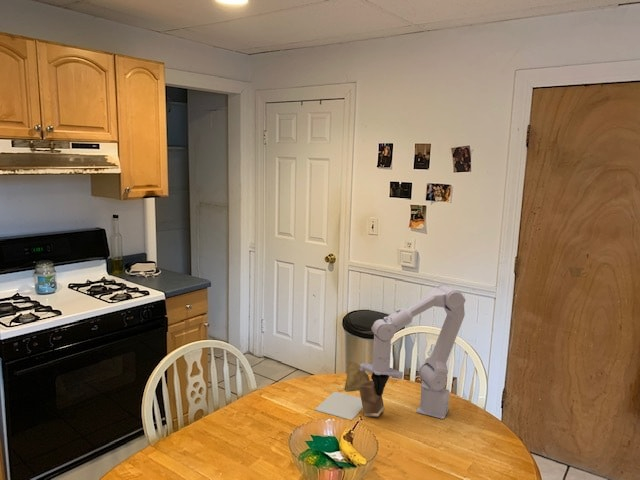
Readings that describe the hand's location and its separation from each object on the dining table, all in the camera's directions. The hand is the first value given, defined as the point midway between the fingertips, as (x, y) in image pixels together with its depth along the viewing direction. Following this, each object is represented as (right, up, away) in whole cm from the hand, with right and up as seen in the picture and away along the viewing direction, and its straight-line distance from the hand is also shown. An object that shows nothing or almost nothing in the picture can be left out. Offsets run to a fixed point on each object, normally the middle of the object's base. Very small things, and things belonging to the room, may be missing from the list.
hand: (379, 394), depth 162 cm
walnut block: (-2, -7, +2) cm, 7 cm away
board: (-12, -6, +7) cm, 16 cm away
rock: (-6, -5, +22) cm, 23 cm away
